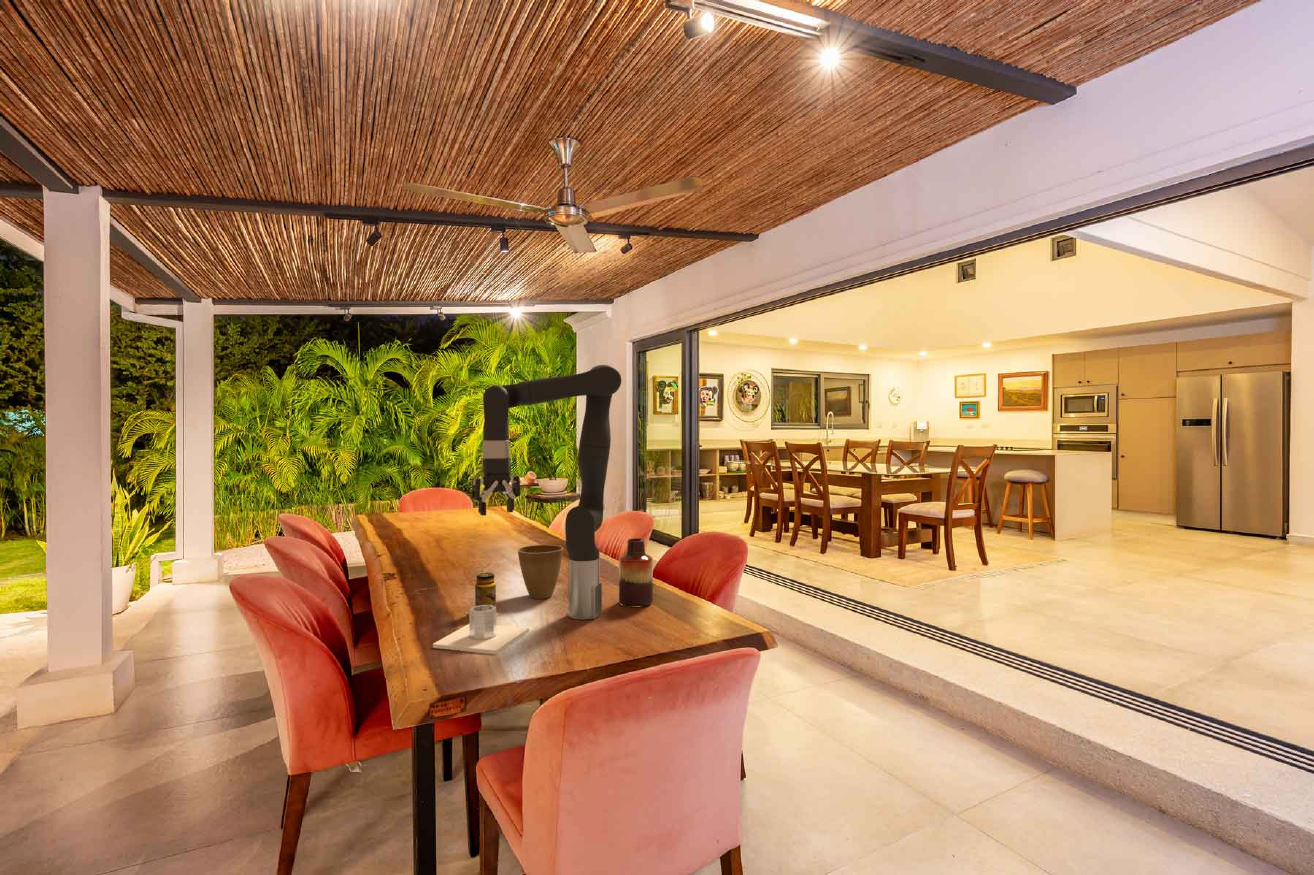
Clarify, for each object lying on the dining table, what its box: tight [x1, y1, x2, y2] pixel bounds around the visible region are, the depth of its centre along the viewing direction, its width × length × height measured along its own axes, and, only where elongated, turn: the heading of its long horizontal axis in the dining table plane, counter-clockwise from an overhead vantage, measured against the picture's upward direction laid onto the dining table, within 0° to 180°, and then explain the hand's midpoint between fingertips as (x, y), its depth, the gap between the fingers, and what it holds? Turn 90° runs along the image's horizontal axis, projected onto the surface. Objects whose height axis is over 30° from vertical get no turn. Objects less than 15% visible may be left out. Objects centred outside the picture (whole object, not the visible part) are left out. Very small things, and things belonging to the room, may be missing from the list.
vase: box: [618, 537, 654, 607], centre depth 202 cm, size 11×11×20 cm
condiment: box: [464, 572, 500, 616], centre depth 190 cm, size 7×8×12 cm
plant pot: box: [517, 544, 564, 600], centre depth 210 cm, size 15×15×16 cm
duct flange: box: [432, 623, 530, 655], centre depth 168 cm, size 18×18×6 cm
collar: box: [468, 605, 497, 639], centre depth 167 cm, size 6×6×7 cm
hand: (496, 513), depth 178 cm, fingers open, 8 cm apart
